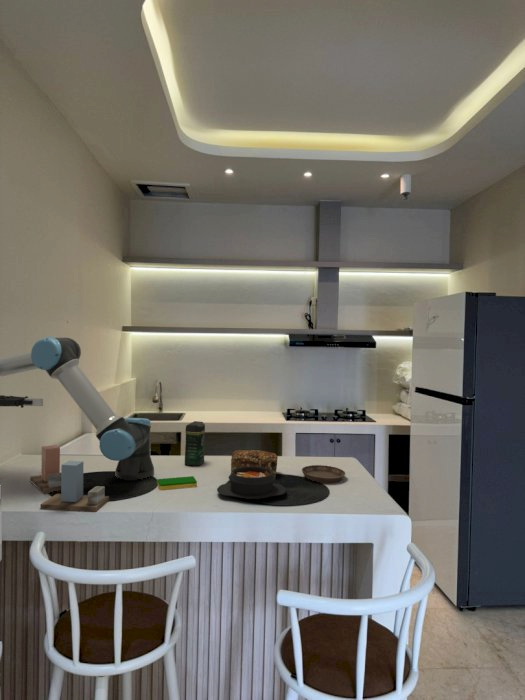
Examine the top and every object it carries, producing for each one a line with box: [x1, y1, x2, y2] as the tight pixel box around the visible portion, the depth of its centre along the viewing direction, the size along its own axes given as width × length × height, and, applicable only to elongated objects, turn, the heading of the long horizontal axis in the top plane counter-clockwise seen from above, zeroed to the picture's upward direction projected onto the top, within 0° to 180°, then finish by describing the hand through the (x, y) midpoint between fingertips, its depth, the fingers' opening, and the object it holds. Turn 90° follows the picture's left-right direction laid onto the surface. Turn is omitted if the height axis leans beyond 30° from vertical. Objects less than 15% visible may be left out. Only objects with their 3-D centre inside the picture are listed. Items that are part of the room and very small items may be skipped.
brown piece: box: [29, 472, 61, 495], centre depth 171 cm, size 18×10×6 cm, turn 41°
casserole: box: [216, 466, 287, 500], centre depth 165 cm, size 25×19×8 cm
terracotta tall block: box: [41, 444, 61, 482], centre depth 172 cm, size 5×5×12 cm
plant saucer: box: [301, 464, 346, 484], centre depth 187 cm, size 18×18×3 cm
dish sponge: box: [157, 475, 198, 491], centre depth 173 cm, size 7×14×2 cm, turn 110°
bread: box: [230, 449, 278, 478], centre depth 189 cm, size 19×11×10 cm, turn 85°
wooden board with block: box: [39, 485, 110, 513], centre depth 151 cm, size 18×10×6 cm, turn 86°
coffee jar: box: [184, 420, 206, 466], centre depth 203 cm, size 10×8×19 cm
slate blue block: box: [60, 460, 84, 502], centre depth 151 cm, size 5×5×12 cm
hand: (41, 402), depth 174 cm, fingers closed
